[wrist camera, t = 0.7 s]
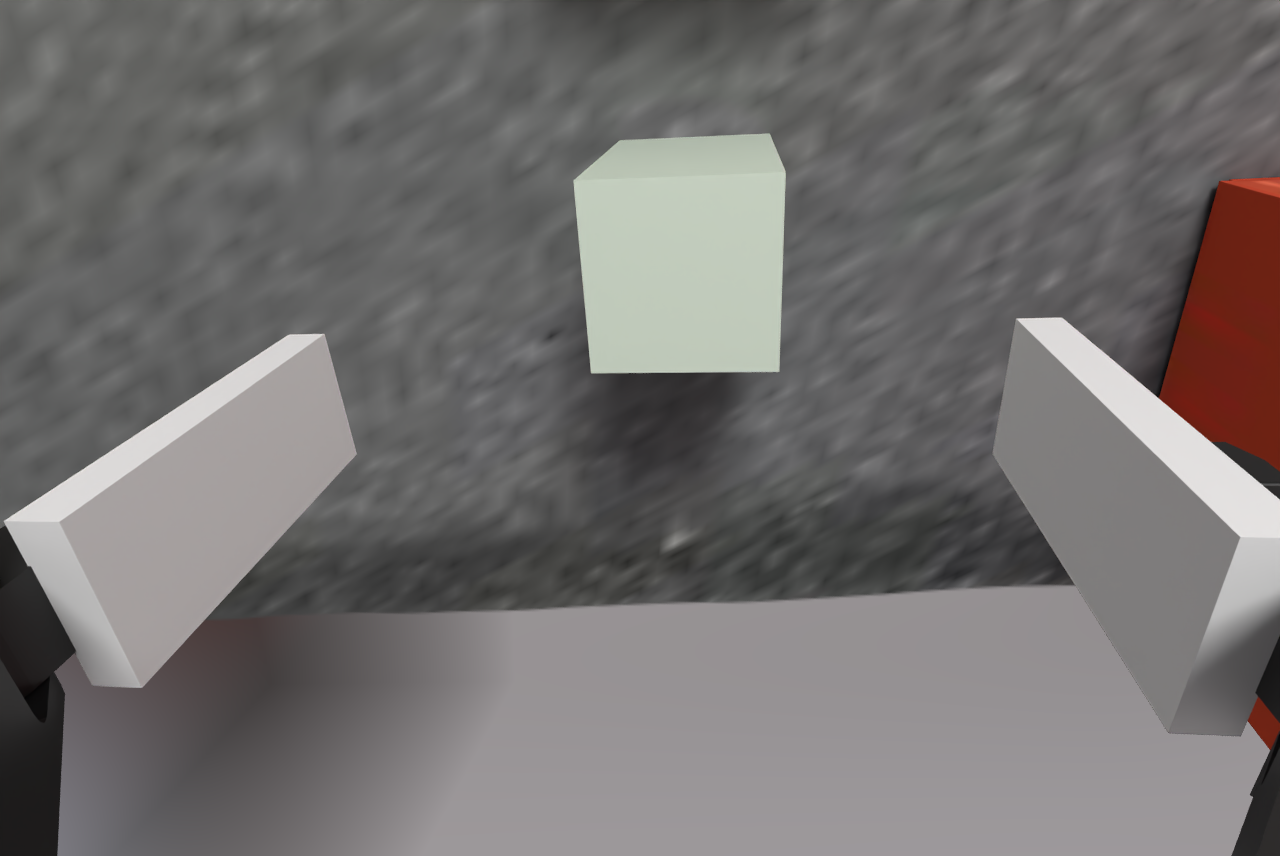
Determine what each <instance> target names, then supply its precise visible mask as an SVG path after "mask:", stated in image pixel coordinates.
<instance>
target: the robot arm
mask: <svg viewBox="0 0 1280 856" xmlns="http://www.w3.org/2000/svg"><path fill="white" fill-rule="evenodd" d="M356 454H357V453H356V450H355V446H354V442H353V438H352V435H351V431H350V427H349V424H348V420H347V416H346V412H345V409H344V405H343V401H342V397H341V394H340V390H339V386H338V383H337V379H336V375H335V371H334V368H333V364H332V360H331V356H330V353H329V349H328V345H327V342H326V338H325V334H299V335H288V336H286V337H285V338H283V339H282V340H280V341H279V342H277V343H275V344H274V345H272V346H271V347H269V348H268V349H266V350H265V351H263V352H262V353H260V354H259V355H257V356H256V357H254V358H253V359H251V360H249V361H248V362H246V363H245V364H243V365H242V366H240V367H239V368H237V369H236V370H234V371H233V372H231V373H230V374H228V375H227V376H225V377H223V378H222V379H220V380H219V381H217V382H216V383H214V384H213V385H211V386H210V387H208V388H207V389H205V390H204V391H202V392H201V393H199V394H197V395H196V396H194V397H193V398H191V399H190V400H188V401H187V402H185V403H184V404H182V405H181V406H179V407H178V408H176V409H175V410H173V411H171V412H170V413H168V414H167V415H165V416H164V417H162V418H161V419H159V420H158V421H156V422H155V423H153V424H152V425H150V426H149V427H147V428H146V429H144V430H142V431H141V432H139V433H138V434H136V435H135V436H133V437H132V438H130V439H129V440H127V441H126V442H124V443H123V444H121V445H120V446H118V447H116V448H115V449H113V450H112V451H110V452H109V453H107V454H106V455H104V456H103V457H101V458H100V459H98V460H97V461H95V462H94V463H92V464H90V465H89V466H87V467H86V468H84V469H83V470H81V471H80V472H78V473H77V474H75V475H74V476H72V477H71V478H69V479H68V480H66V481H64V482H63V483H61V484H60V485H58V486H57V487H55V488H54V489H52V490H51V491H49V492H48V493H46V494H45V495H43V496H42V497H40V498H38V499H37V500H35V501H34V502H32V503H31V504H29V505H28V506H26V507H25V508H23V509H22V510H20V511H19V512H17V513H16V514H14V515H12V516H11V517H9V518H8V519H6V520H5V521H4V523H5V526H4V527H2V528H1V529H0V856H57V850H58V829H59V806H60V785H61V765H62V744H63V722H64V701H65V693H64V691H63V688H62V686H61V684H60V682H59V680H58V678H57V677H56V675H55V673H54V671H55V670H57V669H58V668H59V667H60V666H61V665H62V664H63V663H64V662H65V661H66V660H67V659H68V658H70V657H71V656H72V655H73V654H74V653H75V655H76V656H77V658H78V660H79V662H80V664H81V665H82V668H83V669H84V671H85V673H86V675H87V677H88V679H89V680H90V682H91V684H92V686H111V687H134V688H142V687H143V686H144V685H145V684H146V683H147V682H148V681H149V680H150V679H151V677H152V676H153V675H154V674H155V673H156V672H157V671H158V670H159V669H160V668H161V667H162V666H163V664H164V663H165V662H166V661H167V660H168V659H169V658H170V657H171V655H173V654H174V652H175V651H176V650H177V649H178V648H179V647H180V646H181V645H182V644H183V643H184V642H185V641H186V639H187V638H188V637H189V636H190V635H191V634H192V633H193V632H194V631H195V630H196V628H197V627H198V626H199V625H200V624H201V623H202V622H203V621H204V620H205V619H206V618H207V617H208V615H209V614H210V613H211V612H212V611H213V610H214V609H215V608H216V607H217V606H218V605H219V603H220V602H221V601H222V600H223V599H224V598H225V597H226V596H227V595H228V594H229V593H230V592H231V590H232V589H233V588H234V587H235V586H236V585H237V584H238V583H239V582H240V581H241V580H242V578H243V577H244V576H245V575H246V574H247V573H248V572H249V571H250V570H251V569H252V568H253V566H254V565H255V564H256V563H257V562H258V561H259V560H260V559H261V558H262V557H263V556H264V555H265V553H266V552H267V551H268V550H269V549H270V548H271V547H272V546H273V545H274V544H275V543H276V541H277V540H278V539H279V538H280V537H281V536H282V535H283V534H284V533H285V532H286V531H287V529H288V528H289V527H290V526H291V525H292V524H293V523H294V522H295V521H296V520H297V519H298V518H299V516H300V515H301V514H302V513H303V512H304V511H305V510H306V509H307V508H308V507H309V506H310V504H311V503H312V502H313V501H314V500H315V499H316V498H317V497H318V496H319V495H320V494H321V492H322V491H323V490H324V489H325V488H326V487H327V486H328V485H329V484H330V483H331V482H332V480H333V479H334V478H335V477H336V476H337V475H338V474H339V473H340V472H341V471H342V470H343V469H344V467H345V466H346V465H347V464H348V463H349V462H350V461H351V460H352V459H353V458H354V457H355V455H356ZM993 456H994V457H995V459H996V460H997V462H998V464H999V465H1000V467H1001V468H1002V470H1003V472H1004V473H1005V475H1006V476H1007V478H1008V479H1009V481H1010V483H1011V484H1012V486H1013V487H1014V489H1015V491H1016V492H1017V494H1018V495H1019V497H1020V499H1021V500H1022V502H1023V503H1024V505H1025V506H1026V508H1027V510H1028V511H1029V513H1030V514H1031V516H1032V518H1033V519H1034V521H1035V522H1036V524H1037V525H1038V527H1039V529H1040V530H1041V532H1042V533H1043V535H1044V537H1045V538H1046V540H1047V541H1048V543H1049V545H1050V546H1051V548H1052V549H1053V551H1054V552H1055V554H1056V556H1057V557H1058V559H1059V560H1060V562H1061V564H1062V565H1063V567H1064V568H1065V570H1066V571H1067V573H1068V575H1069V576H1070V578H1071V579H1072V581H1073V583H1074V584H1075V586H1076V587H1077V589H1078V590H1079V592H1080V594H1081V595H1082V597H1083V598H1084V600H1085V602H1086V603H1087V605H1088V606H1089V608H1090V610H1091V611H1092V613H1093V614H1094V616H1095V617H1096V619H1097V620H1098V622H1099V624H1100V625H1101V627H1102V628H1103V630H1104V632H1105V633H1106V635H1107V637H1108V638H1109V640H1110V641H1111V643H1112V644H1113V646H1114V648H1115V649H1116V651H1117V652H1118V654H1119V656H1120V657H1121V659H1122V660H1123V662H1124V664H1125V665H1126V667H1127V668H1128V670H1129V671H1130V673H1131V675H1132V676H1133V678H1134V679H1135V681H1136V683H1137V684H1138V686H1139V687H1140V689H1141V690H1142V692H1143V694H1144V695H1145V697H1146V698H1147V700H1148V702H1149V703H1150V705H1151V706H1152V708H1153V710H1154V711H1155V713H1156V714H1157V716H1158V717H1159V719H1160V720H1161V722H1162V724H1163V725H1164V727H1165V729H1166V730H1167V732H1168V733H1175V734H1198V735H1221V736H1241V735H1242V732H1243V730H1244V728H1245V725H1246V723H1247V721H1248V718H1249V716H1250V714H1251V712H1252V709H1253V707H1254V705H1255V702H1256V700H1257V698H1258V697H1259V698H1260V699H1261V701H1262V702H1263V703H1264V704H1265V706H1266V707H1267V708H1268V709H1269V711H1270V712H1271V713H1272V714H1273V716H1274V717H1275V718H1276V719H1277V721H1278V722H1279V723H1280V471H1278V470H1277V469H1276V468H1274V467H1273V466H1272V465H1271V464H1269V463H1268V462H1267V461H1265V460H1264V459H1261V458H1259V457H1257V456H1255V455H1253V454H1251V453H1248V452H1246V451H1244V450H1242V449H1240V448H1238V447H1235V446H1233V445H1231V444H1229V443H1227V442H1210V441H1209V440H1208V439H1207V438H1205V437H1204V436H1203V435H1202V434H1201V433H1199V432H1198V431H1197V430H1196V429H1195V428H1193V427H1192V426H1191V425H1190V424H1189V423H1187V422H1186V421H1185V420H1184V419H1183V418H1181V417H1180V416H1179V415H1178V414H1177V413H1175V412H1174V411H1173V410H1172V409H1171V408H1169V407H1168V406H1167V405H1166V404H1165V403H1163V402H1162V401H1161V400H1160V399H1159V398H1157V397H1156V396H1155V395H1154V394H1153V393H1151V392H1150V391H1149V390H1148V389H1147V388H1145V387H1144V386H1143V385H1142V384H1141V383H1140V382H1138V381H1137V380H1136V379H1135V378H1134V377H1132V376H1131V375H1130V374H1129V373H1128V372H1126V371H1125V370H1124V369H1123V368H1122V367H1120V366H1119V365H1118V364H1117V363H1116V362H1114V361H1113V360H1112V359H1111V358H1110V357H1108V356H1107V355H1106V354H1105V353H1104V352H1102V351H1101V350H1100V349H1099V348H1098V347H1096V346H1095V345H1094V344H1093V343H1092V342H1090V341H1089V340H1088V339H1087V338H1086V337H1084V336H1083V335H1082V334H1081V333H1080V332H1078V331H1077V330H1076V329H1075V328H1074V327H1072V326H1071V325H1070V324H1069V323H1068V322H1066V321H1065V320H1064V319H1063V318H1024V319H1016V322H1015V328H1014V334H1013V339H1012V345H1011V351H1010V356H1009V362H1008V368H1007V374H1006V379H1005V385H1004V391H1003V397H1002V402H1001V408H1000V414H999V420H998V425H997V431H996V437H995V443H994V448H993ZM1250 795H1251V796H1253V799H1252V802H1251V805H1250V807H1249V810H1248V813H1247V815H1246V819H1245V821H1244V824H1243V826H1242V829H1241V832H1240V834H1239V837H1238V840H1237V842H1236V845H1235V848H1234V851H1233V853H1232V856H1280V731H1279V733H1278V735H1277V737H1276V739H1275V741H1274V744H1273V746H1272V748H1271V750H1270V752H1269V754H1268V757H1267V759H1266V761H1265V763H1264V765H1263V767H1262V770H1261V772H1260V774H1259V776H1258V778H1257V780H1256V783H1255V785H1254V787H1253V789H1252V791H1251V793H1250Z"/></svg>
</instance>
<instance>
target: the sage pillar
mask: <svg viewBox="0 0 1280 856" xmlns="http://www.w3.org/2000/svg"><path fill="white" fill-rule="evenodd" d="M785 177H786V172H785V169H784V167H783V165H782V162H781V160H780V157H779V155H778V153H777V150H776V148H775V145H774V143H773V141H772V138H771V136H770V134H749V135H727V136H706V137H684V138H663V139H641V140H620V141H619V142H617V143H616V144H615V145H614V146H613V147H612V148H611V149H609V150H608V151H607V152H606V153H605V154H604V155H602V156H601V157H600V158H599V159H598V160H597V161H596V162H594V163H593V164H592V165H591V166H590V167H589V168H587V169H586V170H585V171H584V172H583V173H582V174H581V175H579V176H578V177H577V178H576V179H575V180H574V191H575V202H576V213H577V224H578V235H579V246H580V257H581V268H582V279H583V290H584V301H585V312H586V323H587V333H588V344H589V355H590V366H591V373H688V372H779V361H780V330H781V300H782V269H783V238H784V208H785Z"/></svg>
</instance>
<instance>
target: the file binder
mask: <svg viewBox="0 0 1280 856" xmlns="http://www.w3.org/2000/svg"><path fill="white" fill-rule="evenodd" d="M1159 399H1160V400H1161V401H1162V402H1163V403H1165V404H1166V405H1167V406H1168V407H1169V408H1171V409H1172V410H1173V411H1174V412H1175V413H1177V414H1178V415H1179V416H1180V417H1181V418H1183V419H1184V420H1185V421H1186V422H1187V423H1189V424H1190V425H1191V426H1192V427H1193V428H1195V429H1196V430H1197V431H1198V432H1199V433H1201V434H1202V435H1203V436H1204V437H1205V438H1207V439H1208V440H1209V441H1210V442H1227V443H1229V444H1231V445H1233V446H1235V447H1238V448H1240V449H1242V450H1244V451H1246V452H1248V453H1251V454H1253V455H1255V456H1257V457H1259V458H1261V459H1264V460H1265V461H1267V462H1268V463H1269V464H1271V465H1272V466H1273V467H1274V468H1276V469H1277V470H1278V471H1280V177H1275V178H1253V179H1231V180H1229V181H1219V185H1218V188H1217V192H1216V195H1215V199H1214V203H1213V206H1212V210H1211V213H1210V217H1209V220H1208V224H1207V228H1206V231H1205V235H1204V238H1203V242H1202V246H1201V249H1200V253H1199V256H1198V260H1197V264H1196V267H1195V271H1194V274H1193V278H1192V281H1191V285H1190V289H1189V292H1188V296H1187V299H1186V303H1185V307H1184V310H1183V314H1182V317H1181V321H1180V325H1179V328H1178V332H1177V335H1176V339H1175V343H1174V346H1173V350H1172V353H1171V357H1170V360H1169V364H1168V368H1167V371H1166V375H1165V378H1164V382H1163V386H1162V389H1161V393H1160V396H1159ZM1248 722H1249V723H1250V725H1251V726H1252V727H1253V728H1254V730H1255V731H1256V732H1257V734H1258V735H1259V736H1260V738H1261V739H1262V740H1263V741H1264V743H1265V744H1266V745H1267V747H1268V748H1269V749H1270V750H1271V748H1272V746H1273V744H1274V741H1275V739H1276V737H1277V735H1278V733H1279V731H1280V723H1279V722H1278V721H1277V719H1276V718H1275V717H1274V716H1273V714H1272V713H1271V712H1270V711H1269V709H1268V708H1267V707H1266V706H1265V704H1264V703H1263V702H1262V701H1261V699H1260V698H1259V697H1258V698H1257V700H1256V702H1255V705H1254V707H1253V709H1252V712H1251V714H1250V716H1249V718H1248Z"/></svg>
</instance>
